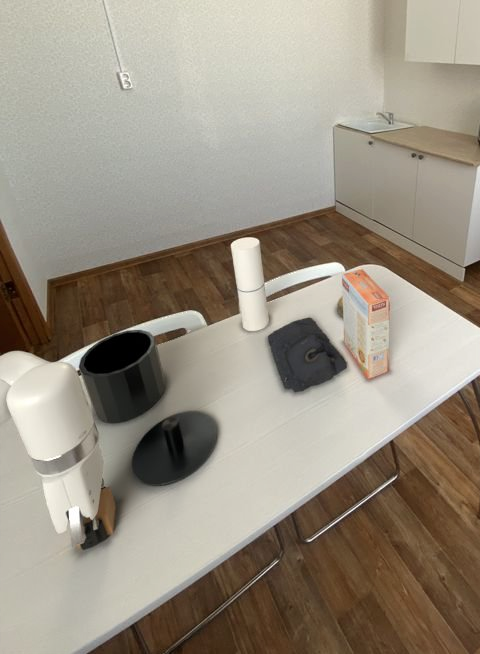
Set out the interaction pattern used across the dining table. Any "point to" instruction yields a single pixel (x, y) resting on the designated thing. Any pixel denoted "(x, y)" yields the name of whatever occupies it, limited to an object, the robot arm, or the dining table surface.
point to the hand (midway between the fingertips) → (97, 524)
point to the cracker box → (366, 322)
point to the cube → (105, 511)
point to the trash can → (123, 375)
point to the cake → (340, 307)
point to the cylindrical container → (250, 283)
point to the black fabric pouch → (304, 355)
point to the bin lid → (174, 448)
